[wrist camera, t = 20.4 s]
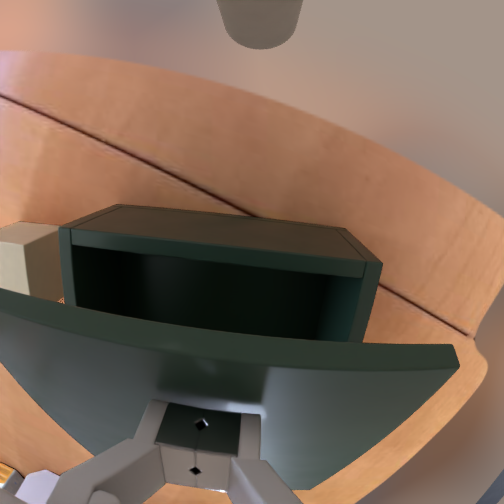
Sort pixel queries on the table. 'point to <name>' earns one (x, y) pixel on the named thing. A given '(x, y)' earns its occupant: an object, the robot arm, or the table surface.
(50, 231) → the cube
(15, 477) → the hard drive box
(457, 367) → the lid
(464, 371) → the table surface
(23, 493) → the game console
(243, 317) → the chest
